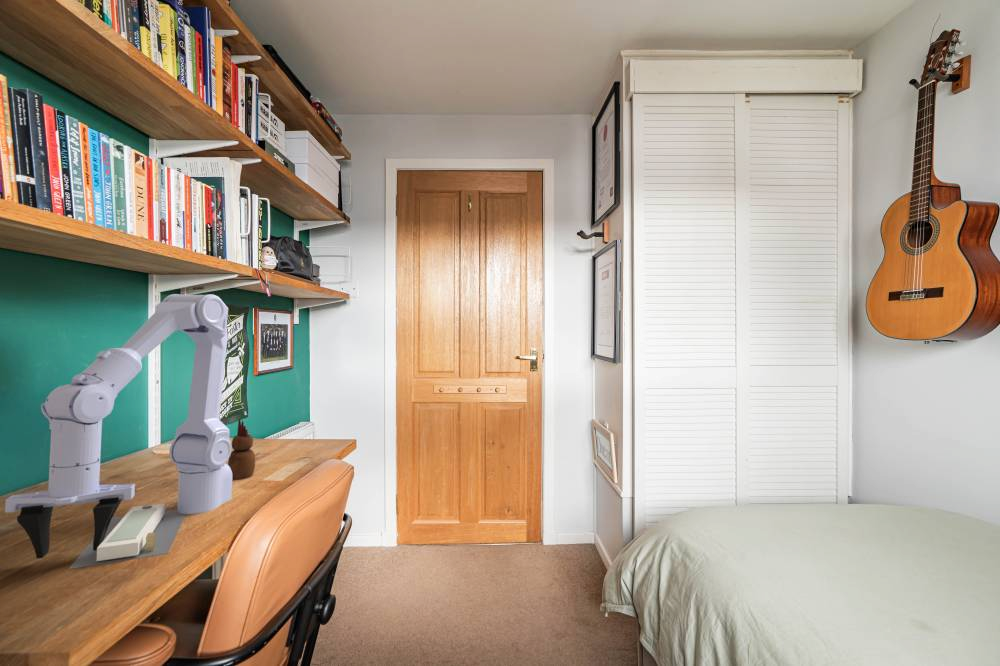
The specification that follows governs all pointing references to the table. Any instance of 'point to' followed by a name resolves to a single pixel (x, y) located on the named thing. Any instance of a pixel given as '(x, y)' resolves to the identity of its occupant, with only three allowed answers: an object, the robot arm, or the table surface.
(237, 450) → the wooden figurine
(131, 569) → the table surface
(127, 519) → the frame
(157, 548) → the board
